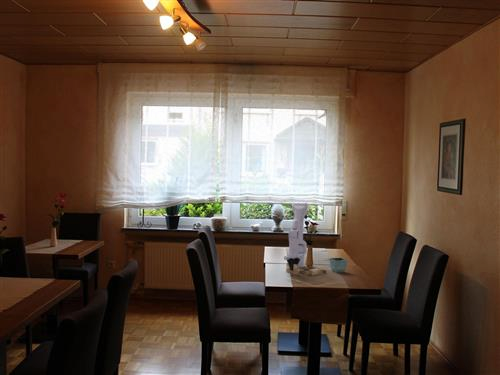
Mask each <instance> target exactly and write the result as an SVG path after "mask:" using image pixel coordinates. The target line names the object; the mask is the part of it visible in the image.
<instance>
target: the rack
mask: <svg viewBox="0 0 500 375" xmlns="http://www.w3.org/2000/svg"><path fill="white" fill-rule="evenodd" d="M316 268H317V269H322V271H323V274H322V275H325V274H327V270H326V269H323V268H318V267H315V266H311V265H309V266H308V268H304V269H300V268H299V274H302V275H305V276H309V277H313V276H319V275H321V274H317V275H312V273H311V272H308V271H309V270H312V269H316Z"/></svg>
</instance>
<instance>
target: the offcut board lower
mask: <svg viewBox="0 0 500 375" xmlns="http://www.w3.org/2000/svg"><path fill="white" fill-rule="evenodd" d="M308 272H309V271H308ZM317 274H320V275H324V274H323V271H321V272H317V273H312V275H315V276H318V275H317Z"/></svg>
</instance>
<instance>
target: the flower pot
mask: <svg viewBox="0 0 500 375" xmlns="http://www.w3.org/2000/svg"><path fill="white" fill-rule="evenodd" d="M347 265H348V259H345V258H343V257H329V266H330V269H331V271H332V272H334V273H344V272H345V271H346V269H347Z"/></svg>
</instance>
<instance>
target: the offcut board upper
mask: <svg viewBox="0 0 500 375" xmlns="http://www.w3.org/2000/svg"><path fill="white" fill-rule="evenodd" d="M317 268H318V267H316V269H312V270H309V272H311V273H317V272H321V271H322V269H323V268H320V269H317Z"/></svg>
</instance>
